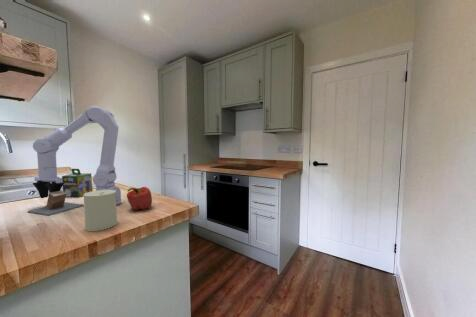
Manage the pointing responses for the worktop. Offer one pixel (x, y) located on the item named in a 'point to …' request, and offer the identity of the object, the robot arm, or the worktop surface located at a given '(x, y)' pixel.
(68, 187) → the chalk box
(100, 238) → the worktop surface
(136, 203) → the vegetable
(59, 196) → the block
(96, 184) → the robot arm
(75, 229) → the worktop surface
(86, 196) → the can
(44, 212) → the mat
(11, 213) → the worktop surface
